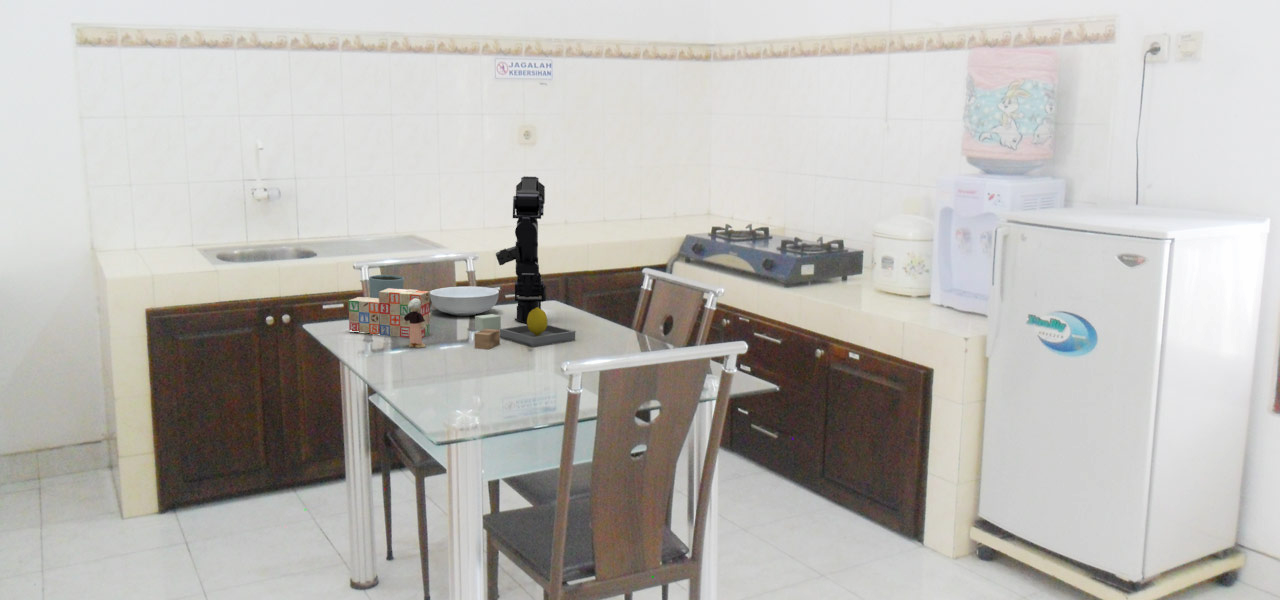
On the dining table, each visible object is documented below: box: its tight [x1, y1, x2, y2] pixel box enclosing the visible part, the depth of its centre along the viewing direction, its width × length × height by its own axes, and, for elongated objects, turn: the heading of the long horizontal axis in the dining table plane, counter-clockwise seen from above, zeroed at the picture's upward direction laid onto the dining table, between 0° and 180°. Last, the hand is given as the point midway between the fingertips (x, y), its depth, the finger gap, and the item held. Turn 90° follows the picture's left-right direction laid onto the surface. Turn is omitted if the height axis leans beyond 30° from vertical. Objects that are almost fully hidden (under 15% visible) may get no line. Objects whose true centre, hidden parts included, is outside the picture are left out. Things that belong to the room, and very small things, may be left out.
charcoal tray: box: [500, 323, 576, 348], centre depth 295 cm, size 15×15×2 cm
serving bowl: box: [429, 285, 500, 317], centre depth 330 cm, size 21×21×7 cm
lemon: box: [526, 307, 548, 336], centre depth 294 cm, size 6×6×8 cm
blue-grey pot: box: [368, 274, 405, 298], centre depth 320 cm, size 10×10×12 cm
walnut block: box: [474, 329, 501, 350], centre depth 285 cm, size 7×4×4 cm, turn 163°
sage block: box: [474, 313, 502, 332], centre depth 306 cm, size 6×4×4 cm, turn 130°
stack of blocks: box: [348, 288, 431, 338], centre depth 297 cm, size 21×6×12 cm, turn 77°
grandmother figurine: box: [403, 298, 426, 349], centre depth 281 cm, size 8×4×13 cm, turn 71°
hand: (526, 294), depth 297 cm, fingers open, 9 cm apart
